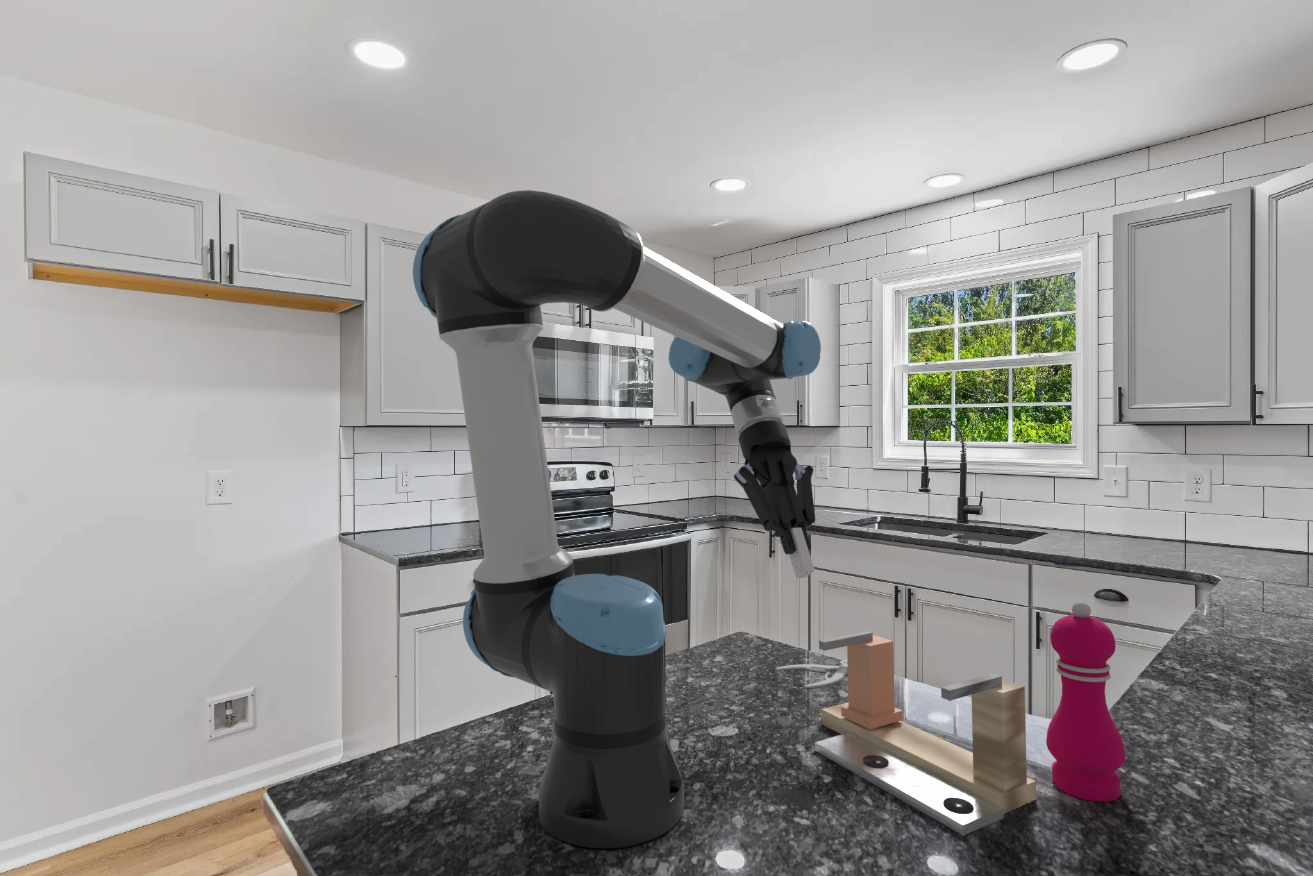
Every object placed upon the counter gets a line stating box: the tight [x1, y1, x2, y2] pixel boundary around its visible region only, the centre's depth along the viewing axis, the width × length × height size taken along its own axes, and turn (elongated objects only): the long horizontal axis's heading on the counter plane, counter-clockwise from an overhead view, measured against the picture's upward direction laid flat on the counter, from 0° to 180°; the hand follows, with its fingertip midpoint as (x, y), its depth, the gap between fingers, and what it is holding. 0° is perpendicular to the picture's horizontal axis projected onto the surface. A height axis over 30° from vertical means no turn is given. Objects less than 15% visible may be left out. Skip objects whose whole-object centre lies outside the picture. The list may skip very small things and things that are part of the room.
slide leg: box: [818, 630, 904, 730], centre depth 87 cm, size 11×5×11 cm, turn 118°
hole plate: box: [814, 732, 1005, 836], centre depth 76 cm, size 6×21×1 cm, turn 28°
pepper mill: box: [1045, 601, 1126, 803], centre depth 74 cm, size 7×7×20 cm
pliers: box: [775, 658, 848, 690], centre depth 112 cm, size 10×2×15 cm
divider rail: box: [821, 673, 1037, 815], centre depth 80 cm, size 11×26×13 cm, turn 28°
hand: (805, 574), depth 96 cm, fingers closed
